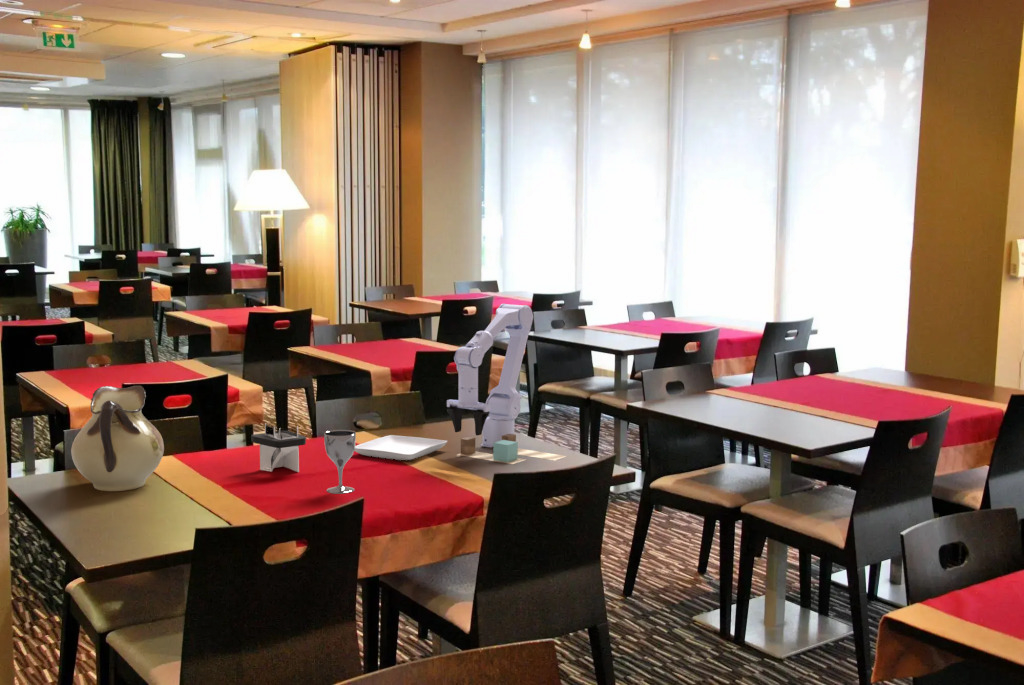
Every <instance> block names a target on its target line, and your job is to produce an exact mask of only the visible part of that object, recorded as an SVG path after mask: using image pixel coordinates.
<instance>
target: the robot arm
mask: <svg viewBox="0 0 1024 685" xmlns="http://www.w3.org/2000/svg"><path fill="white" fill-rule="evenodd" d="M533 321H534V313H533V310H532V308H531V307H530V306H529V305H527V304H524V305H520V304H507V303H501V304H500V305H499V306H498V307H497V308H496V310H495V316H494V318H492V320H490V323H489V324H488V326H487V327H486V328H485V329H484V330H479V331H476V333H475V334H474V335H473V337H472V338H471V339H470V340H469V341H468V342H467V343H466V344H465V346H460V347H459V348H458V349H456V351H455V353H454V356H453V360H454V363H455V365H456V370H457V372H458V399H447V400H446V407H447V409H446V410H447V413H448V415H449V417H450V418H451V421H452V424H453V425H452V426H453V428H454V429H453V430H454V432H455V433H460V432H461V431H462V418H463V414H464V409H465V410H466V409H467V410H471V411H473V412H472V416H473V420H474V431H475V432H474V434H475V436H482V443H481V444H480V446H481V447H486V448H493V443H494V442H498V441H501V440H502V436H503V435H506V434H515V420H516V419H517V417H518V416H519V414H520V412H521V401H522V400H521V399H522V396H521V394H520V393H519V392H518V390H517V389H516V387H517V383H518V380H519V379H518V378H519V375H520V371H521V366H522V362H523V359H524V355H525V351H526V348H527V346H526V345H527V341H528V338H529V334H530V333H531V329H532V325H533ZM503 330H504V331H505V332H506V333H507V334H508V336H509V340H508V344H507V349H506V353H505V357H504V360H503V361H504V362H503V366H502V370H501V373H500V378H499V382H498V385H496V386H495V387H493V388H492V389H491V390H490V392H489V395H488V397H487V398H486V401H485V403H484V402H479V367H480V366H481V365H482V363H483V358H484V357H485V354H486V352H487V351H489V349H490V348H491V347H492V346H493V345H494V338H496V336H498V335H499V334H500V333H501V332H502V331H503Z"/></svg>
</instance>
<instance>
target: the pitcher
mask: <svg viewBox="0 0 1024 685" xmlns="http://www.w3.org/2000/svg"><path fill="white" fill-rule="evenodd" d="M146 398H147V395H146V390H145V389H144V387H143V386H142V385H133V386H130V387H129V386H128V387H116V386H110V385H104V386H100V387H99V388H97V389H96V390H94V391H93V393H92V398H91V399H90V400H91V402H90V412H91V414H92V416H91V417H90V419H89V420H87V422H86V424H84V426H83V427H82V428H81V429H80V430H79V432H77V434H76V436H75V437H74V440H73V441H72V443H71V444H72V445H71V449H70V452H71V458H72V462H73V464H74V466H75V468H76V469H77V470H78V472H79V473H80V474H81V476H83V478H85V479H86V480H88V481H89V482H90V483H92V486H93V488H94V489H95V490H98V491H102V492H123V491H131V490H135V489H138V488H141V487H143V486H144V485H145V483H146V480H147V478H149V477H150V476H151V475H152V474H153V473H154V472H155V470H156V469H157V468H158V467H159V465H160V463H161V461H162V459H163V455H164V451H165V445H164V444H165V443H164V439H163V437H162V434H161V433H160V431H159V430H158V429H157V427H155V425H153V424H152V423H151V421H149V419H148V418H146V416H144V414H143V413H142V409H143V408H144V406H145V403H146V402H145V400H146Z"/></svg>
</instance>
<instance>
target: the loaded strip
mask: <svg viewBox="0 0 1024 685" xmlns="http://www.w3.org/2000/svg"><path fill="white" fill-rule="evenodd" d="M459 457H468V458H474V459H479V460H485V461H491V462H498V463H503V464H510V465H514V464H518V463H521V462H524V461H525V462H526V461H527V459H525V458H519V457H518V459H516V460H513V461H510V462H503V461H497V460H493V453H488V452H483V451H482V452H481V451H476V437H474V436H473V437H472V436H466V437H463V438H460V453H458V454H456V458H459Z"/></svg>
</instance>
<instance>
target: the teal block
mask: <svg viewBox="0 0 1024 685" xmlns="http://www.w3.org/2000/svg"><path fill="white" fill-rule="evenodd" d="M518 443H519V442H518V441H516V442H514V441H507V440H501V441H498V442H494V443H493V447H492V448H493V452H492V454H493V460H497V461H503V462H510V461H513V460H516V459H518V458H519V455H518V448H519V446H518V445H519V444H518Z"/></svg>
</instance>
